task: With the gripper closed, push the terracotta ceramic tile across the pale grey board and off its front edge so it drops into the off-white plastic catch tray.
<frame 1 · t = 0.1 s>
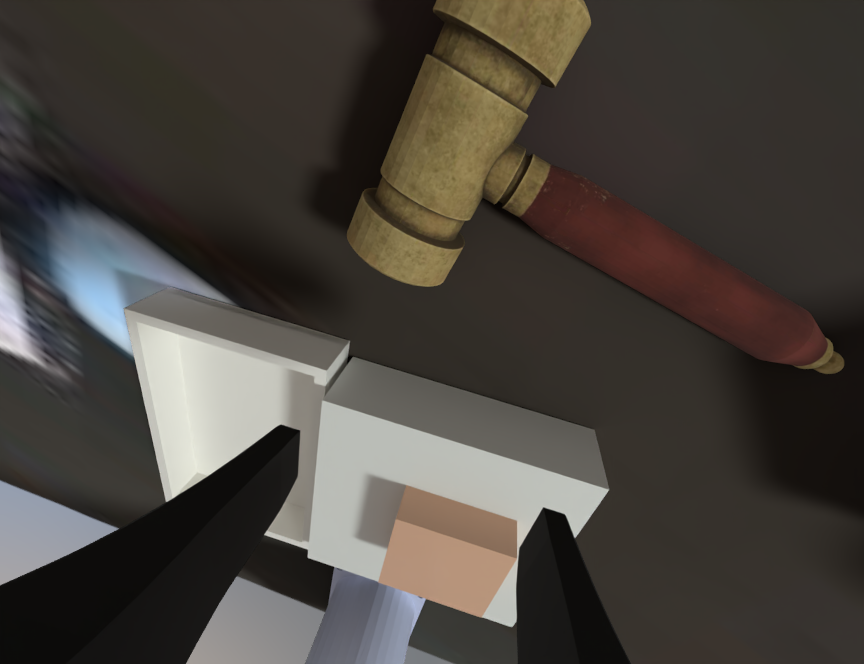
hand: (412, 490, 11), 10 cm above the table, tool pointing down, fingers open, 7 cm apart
tile: (447, 535, 21), point 4 cm above the table, touching board
board: (442, 473, 25), on the table
tray: (260, 415, 26), on the table
gavel: (622, 237, 17), on the table
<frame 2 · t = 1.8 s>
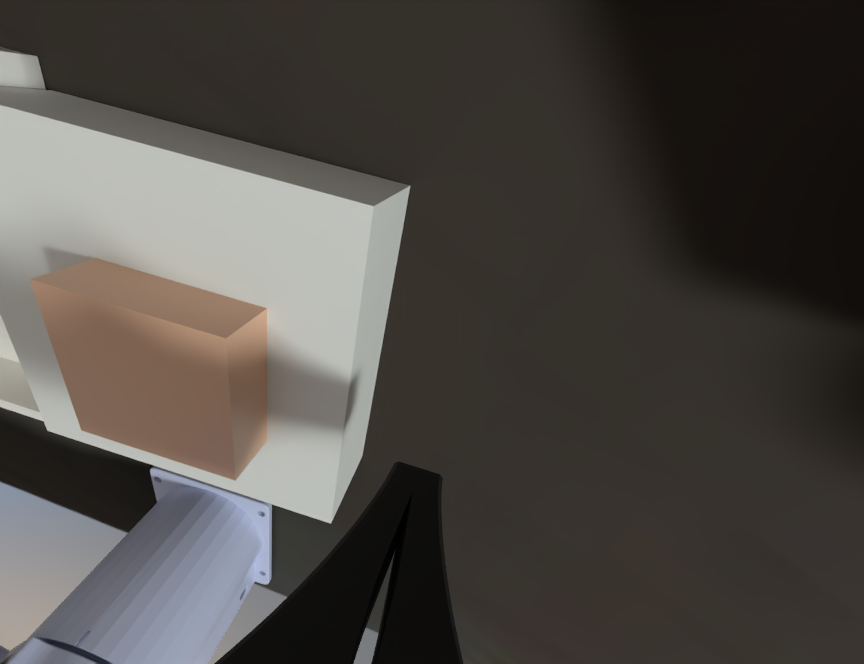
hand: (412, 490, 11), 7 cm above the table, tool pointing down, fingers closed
tile: (190, 357, 14), point 4 cm above the table, touching board
board: (234, 305, 17), on the table
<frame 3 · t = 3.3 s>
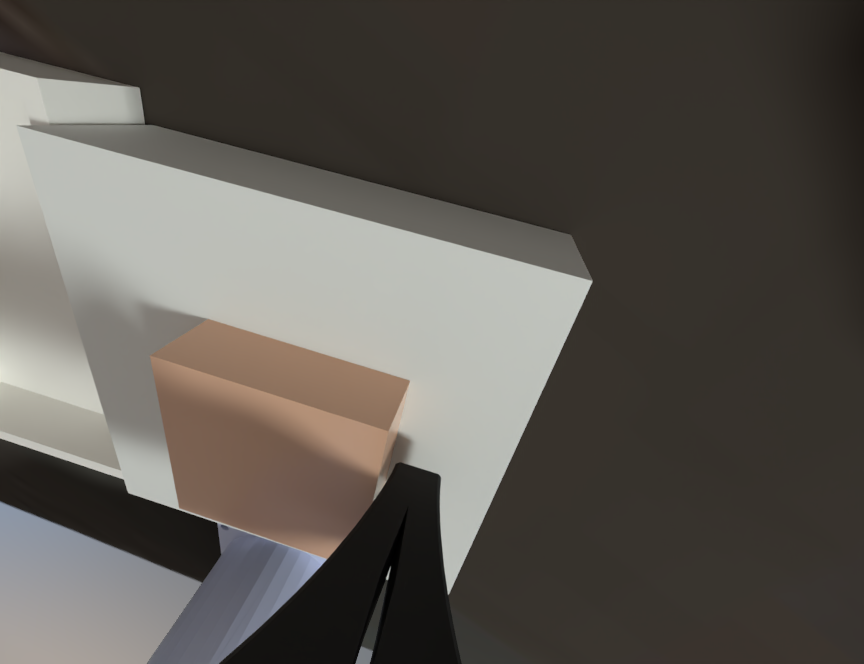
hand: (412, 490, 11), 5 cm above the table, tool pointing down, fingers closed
tile: (302, 426, 12), point 4 cm above the table, touching board, gripper
board: (336, 356, 16), on the table
tray: (56, 273, 17), on the table
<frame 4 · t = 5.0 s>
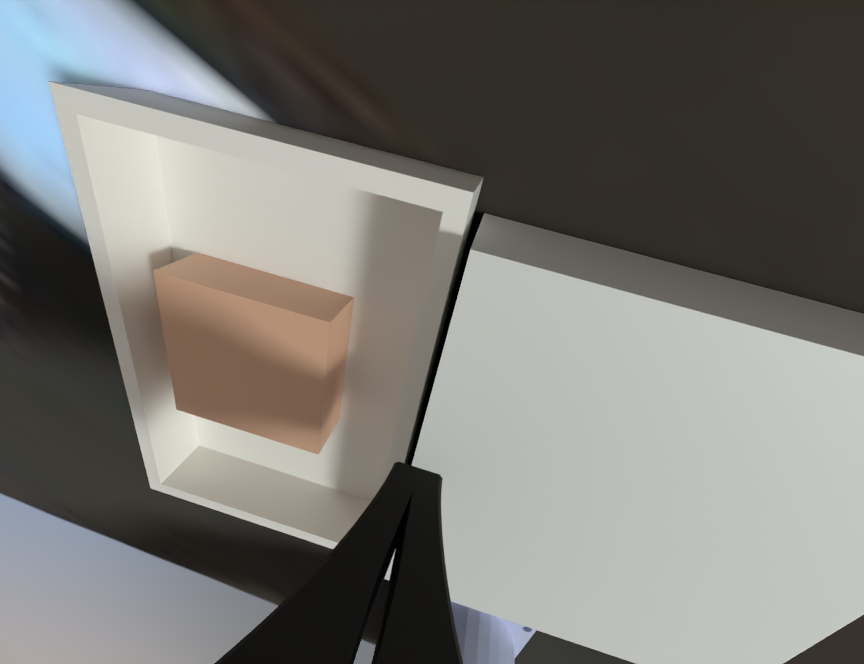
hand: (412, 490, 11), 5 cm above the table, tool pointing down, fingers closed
tile: (243, 371, 14), point 3 cm above the table, tilted 180°, touching tray
board: (608, 437, 15), on the table
tray: (301, 345, 16), on the table
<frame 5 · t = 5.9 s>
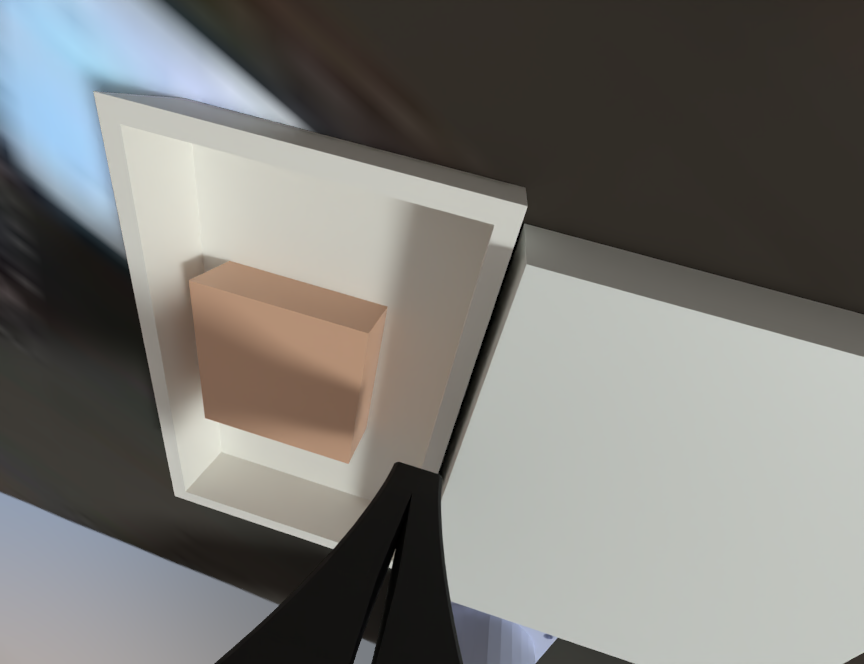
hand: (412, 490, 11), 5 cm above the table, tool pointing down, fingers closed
tile: (276, 381, 13), point 3 cm above the table, tilted 180°, touching tray
board: (639, 447, 15), on the table
tray: (329, 353, 16), on the table
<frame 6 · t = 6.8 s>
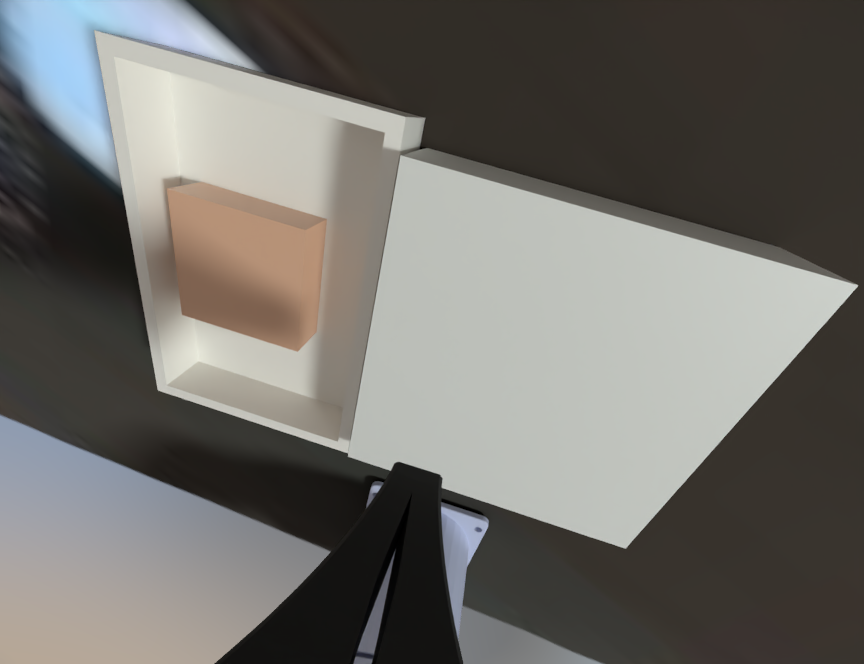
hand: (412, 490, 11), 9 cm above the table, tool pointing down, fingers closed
tile: (237, 276, 17), point 3 cm above the table, tilted 180°, touching tray
board: (533, 342, 19), on the table
tray: (285, 266, 19), on the table
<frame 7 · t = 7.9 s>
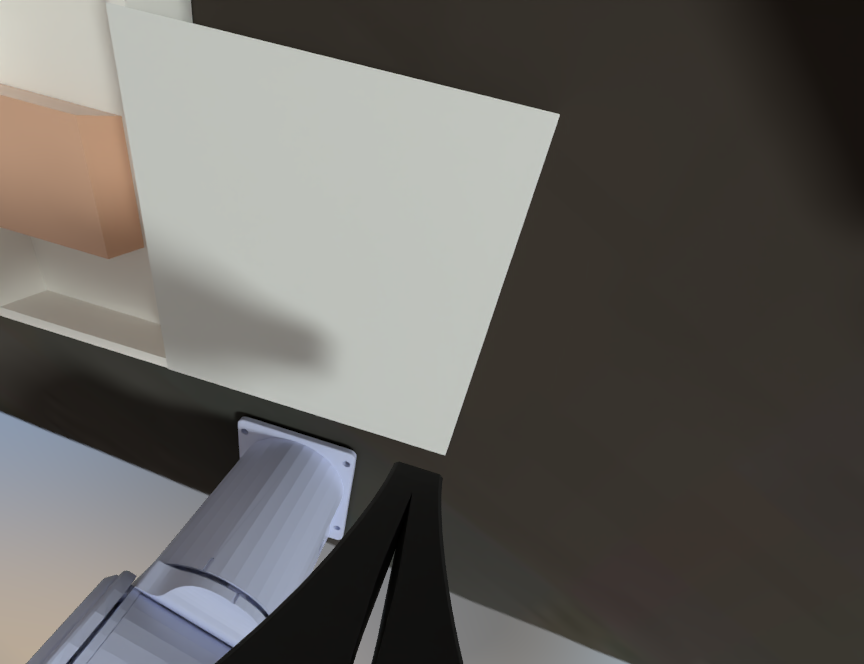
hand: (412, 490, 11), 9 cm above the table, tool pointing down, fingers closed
tile: (31, 175, 17), point 3 cm above the table, tilted 180°, touching tray
board: (350, 247, 18), on the table
tray: (105, 178, 19), on the table
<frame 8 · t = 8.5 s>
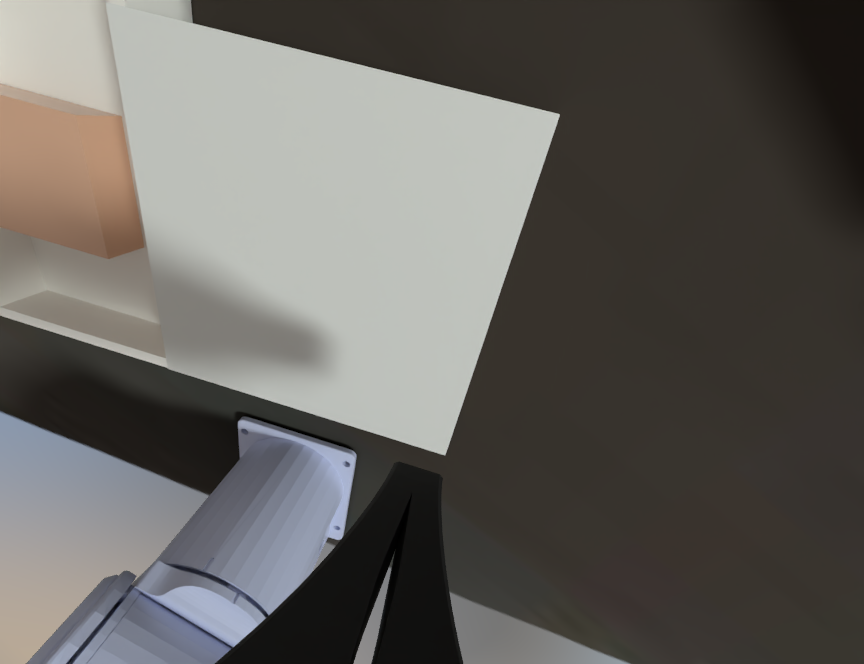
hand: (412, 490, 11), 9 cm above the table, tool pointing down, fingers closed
tile: (31, 175, 17), point 3 cm above the table, tilted 180°, touching tray
board: (350, 247, 18), on the table
tray: (105, 178, 19), on the table
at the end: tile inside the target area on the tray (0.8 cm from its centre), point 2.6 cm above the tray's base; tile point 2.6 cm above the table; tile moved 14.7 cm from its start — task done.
